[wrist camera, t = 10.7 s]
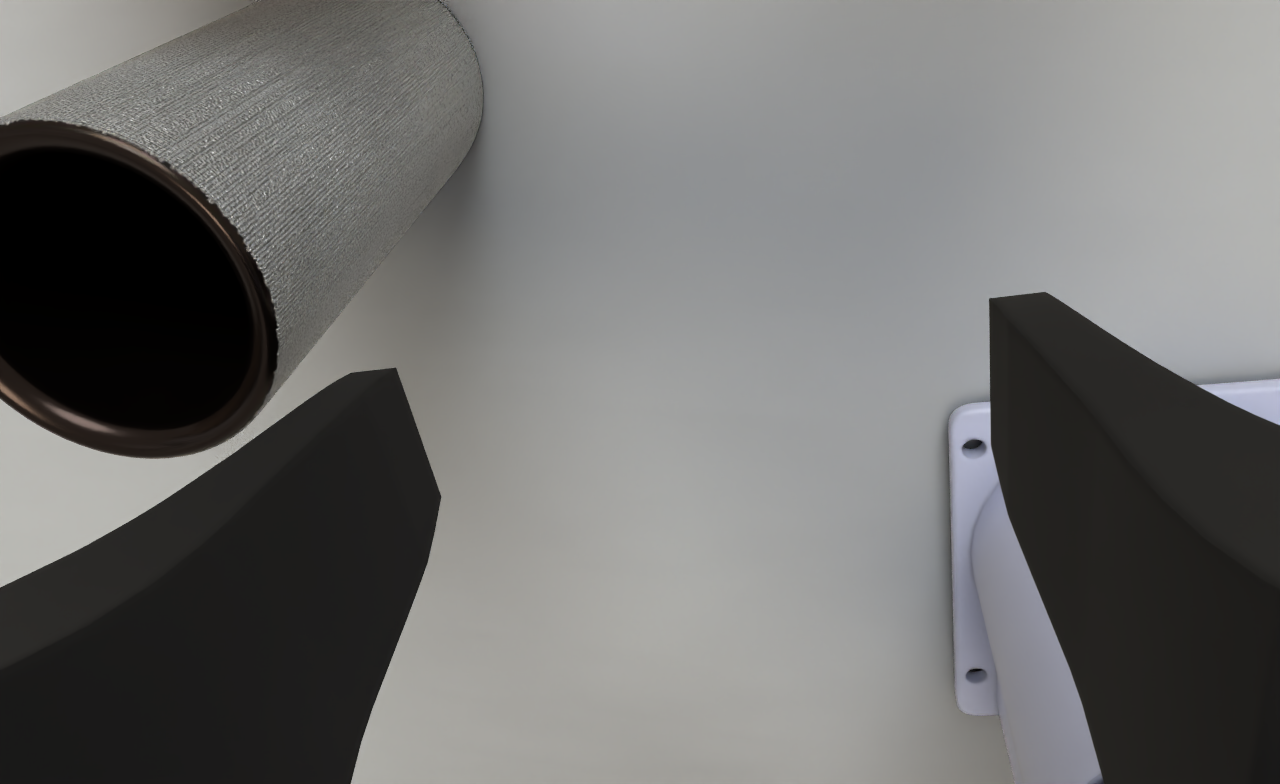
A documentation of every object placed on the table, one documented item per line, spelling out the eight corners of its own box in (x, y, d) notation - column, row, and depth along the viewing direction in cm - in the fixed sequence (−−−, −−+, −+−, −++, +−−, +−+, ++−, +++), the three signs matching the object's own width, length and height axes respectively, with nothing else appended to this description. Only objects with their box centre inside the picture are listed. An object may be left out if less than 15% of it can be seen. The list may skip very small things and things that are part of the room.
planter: (266, 163, 22) (-65, 418, 14) (269, -60, 20) (-128, 76, 11) (471, 212, 23) (273, 498, 14) (500, -4, 20) (282, 174, 11)
